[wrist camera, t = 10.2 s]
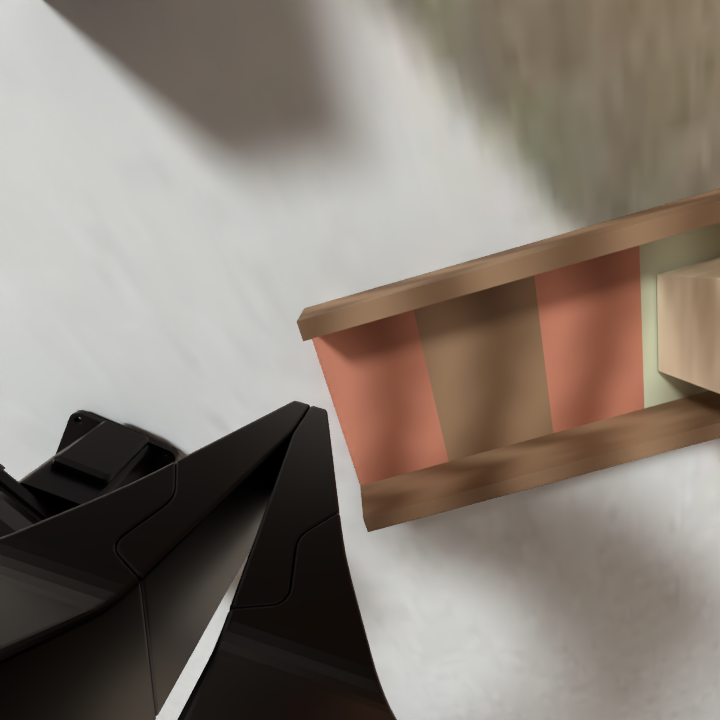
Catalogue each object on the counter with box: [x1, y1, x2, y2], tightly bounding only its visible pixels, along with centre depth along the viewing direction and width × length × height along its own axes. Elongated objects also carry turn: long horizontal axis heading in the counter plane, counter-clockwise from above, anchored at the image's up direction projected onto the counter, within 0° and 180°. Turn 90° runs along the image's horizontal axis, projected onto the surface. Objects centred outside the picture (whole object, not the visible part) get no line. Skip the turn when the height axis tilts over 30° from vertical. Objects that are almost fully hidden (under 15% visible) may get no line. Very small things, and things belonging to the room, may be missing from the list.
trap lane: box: [297, 189, 720, 532], centre depth 20 cm, size 28×13×4 cm, turn 106°
